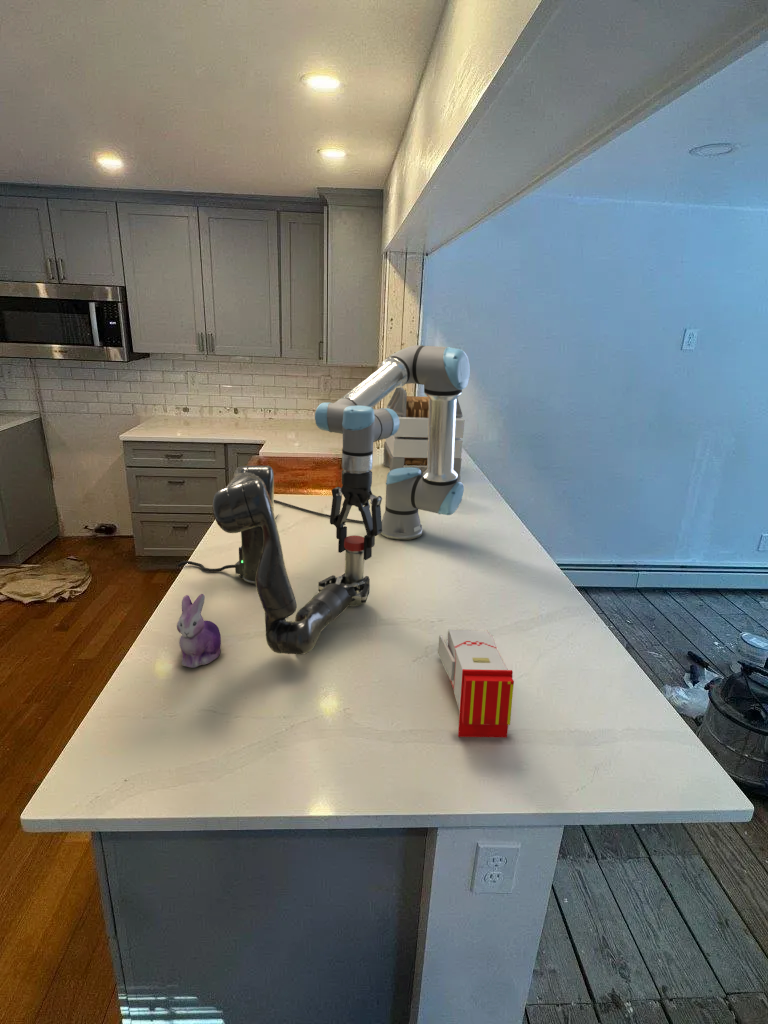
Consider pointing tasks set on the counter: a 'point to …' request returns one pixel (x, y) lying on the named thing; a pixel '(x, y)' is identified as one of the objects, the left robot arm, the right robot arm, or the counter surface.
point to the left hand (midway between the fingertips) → (358, 577)
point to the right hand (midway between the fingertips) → (354, 554)
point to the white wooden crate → (416, 433)
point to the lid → (354, 543)
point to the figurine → (197, 634)
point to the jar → (354, 570)
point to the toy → (478, 682)
